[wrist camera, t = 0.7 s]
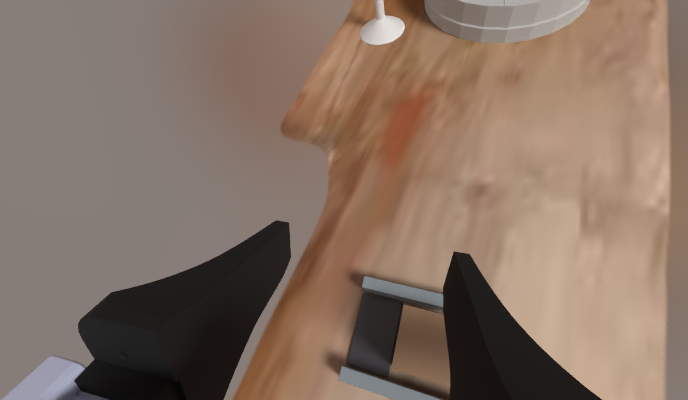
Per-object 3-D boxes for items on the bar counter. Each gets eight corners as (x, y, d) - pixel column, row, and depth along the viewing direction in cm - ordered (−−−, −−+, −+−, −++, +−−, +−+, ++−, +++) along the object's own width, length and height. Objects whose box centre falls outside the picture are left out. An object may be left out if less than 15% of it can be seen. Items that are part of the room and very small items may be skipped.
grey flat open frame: (484, 428, 23) (490, 433, 21) (343, 379, 26) (338, 380, 24) (493, 311, 26) (499, 307, 24) (367, 281, 29) (364, 275, 28)
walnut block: (459, 388, 24) (468, 393, 20) (395, 368, 26) (391, 368, 21) (465, 330, 26) (475, 322, 22) (405, 314, 28) (403, 304, 23)
